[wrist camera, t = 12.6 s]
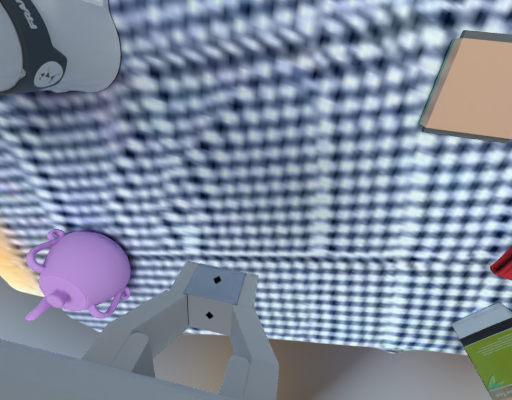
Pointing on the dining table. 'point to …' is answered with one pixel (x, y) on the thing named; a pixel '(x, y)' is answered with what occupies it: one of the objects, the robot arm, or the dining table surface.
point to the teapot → (80, 273)
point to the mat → (480, 37)
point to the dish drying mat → (503, 265)
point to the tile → (473, 90)
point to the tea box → (489, 347)
